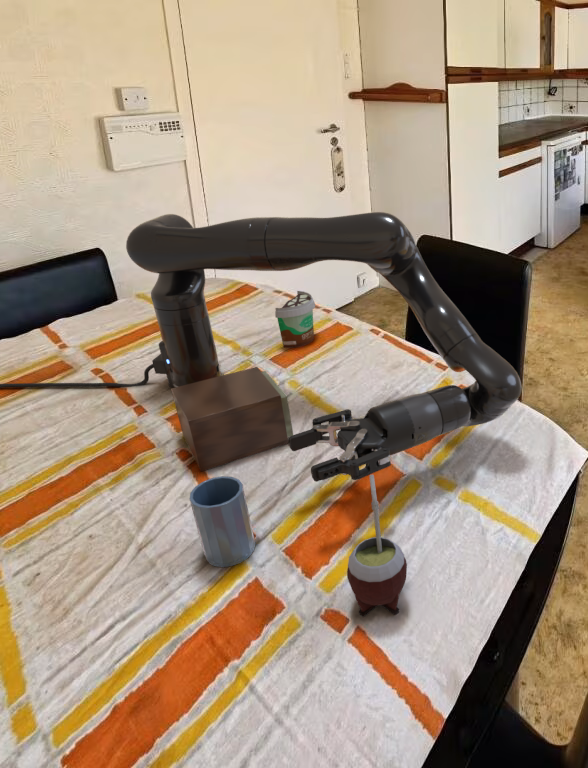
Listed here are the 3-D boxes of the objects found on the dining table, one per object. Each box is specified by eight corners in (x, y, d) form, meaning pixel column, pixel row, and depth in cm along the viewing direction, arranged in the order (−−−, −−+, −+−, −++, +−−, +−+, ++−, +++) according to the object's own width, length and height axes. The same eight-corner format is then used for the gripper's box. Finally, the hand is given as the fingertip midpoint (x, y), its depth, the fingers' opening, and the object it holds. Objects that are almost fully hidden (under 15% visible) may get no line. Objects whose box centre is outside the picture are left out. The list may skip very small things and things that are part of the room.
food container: (306, 352, 139) (300, 310, 135) (280, 350, 140) (274, 308, 136) (327, 331, 150) (322, 291, 145) (303, 329, 151) (298, 289, 146)
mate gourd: (377, 633, 72) (368, 535, 65) (335, 598, 77) (321, 503, 70) (422, 596, 77) (418, 500, 70) (380, 565, 82) (372, 473, 75)
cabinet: (265, 412, 116) (257, 366, 112) (288, 443, 107) (280, 395, 103) (183, 436, 109) (170, 388, 105) (200, 471, 100) (188, 421, 96)
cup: (196, 565, 82) (180, 505, 77) (218, 532, 88) (204, 474, 83) (243, 569, 81) (229, 509, 77) (262, 535, 87) (250, 477, 82)
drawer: (278, 405, 117) (272, 368, 113) (300, 433, 108) (294, 394, 105) (196, 429, 110) (187, 390, 106) (213, 460, 101) (203, 420, 98)
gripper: (381, 382, 96) (278, 413, 88) (428, 422, 86) (317, 461, 78) (384, 423, 100) (286, 457, 92) (430, 467, 89) (324, 508, 81)
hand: (300, 459), depth 85 cm, fingers open, 8 cm apart
